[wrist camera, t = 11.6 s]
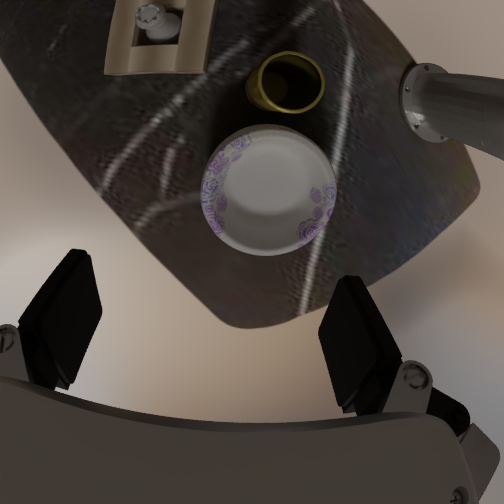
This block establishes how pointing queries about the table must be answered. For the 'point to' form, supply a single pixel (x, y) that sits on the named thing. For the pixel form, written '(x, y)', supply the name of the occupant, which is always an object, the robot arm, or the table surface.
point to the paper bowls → (268, 190)
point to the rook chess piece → (158, 23)
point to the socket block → (157, 55)
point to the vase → (286, 83)
